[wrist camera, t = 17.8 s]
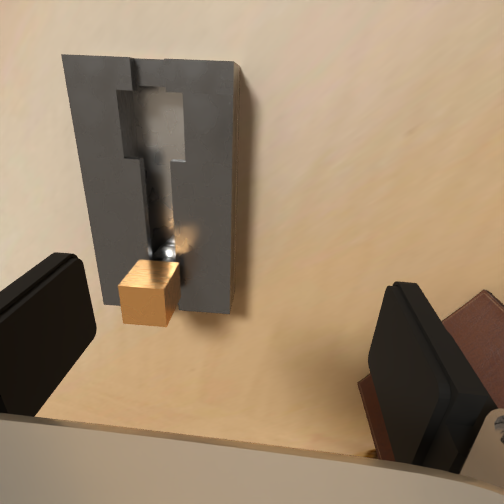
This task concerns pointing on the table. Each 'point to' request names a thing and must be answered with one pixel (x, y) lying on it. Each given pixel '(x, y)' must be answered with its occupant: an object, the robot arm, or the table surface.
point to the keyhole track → (159, 168)
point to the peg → (151, 289)
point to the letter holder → (474, 349)
